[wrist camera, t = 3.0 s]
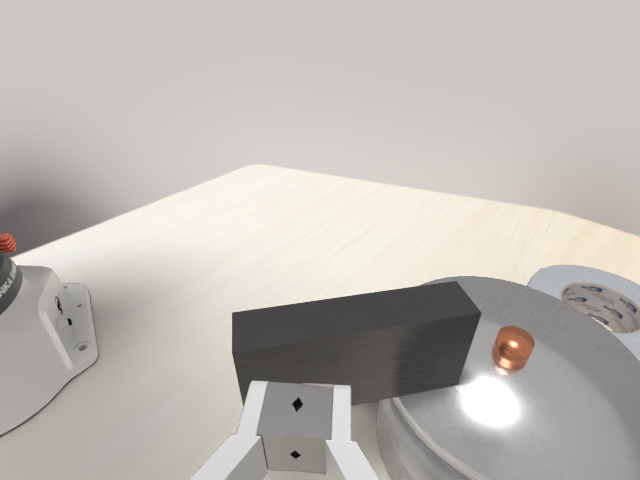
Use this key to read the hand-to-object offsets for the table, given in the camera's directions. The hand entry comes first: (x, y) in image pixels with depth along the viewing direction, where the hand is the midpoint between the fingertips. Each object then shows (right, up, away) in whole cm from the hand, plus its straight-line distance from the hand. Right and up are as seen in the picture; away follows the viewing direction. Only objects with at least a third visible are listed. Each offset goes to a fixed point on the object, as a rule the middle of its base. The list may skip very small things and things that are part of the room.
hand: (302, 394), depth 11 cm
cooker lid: (+10, -6, +16) cm, 20 cm away
